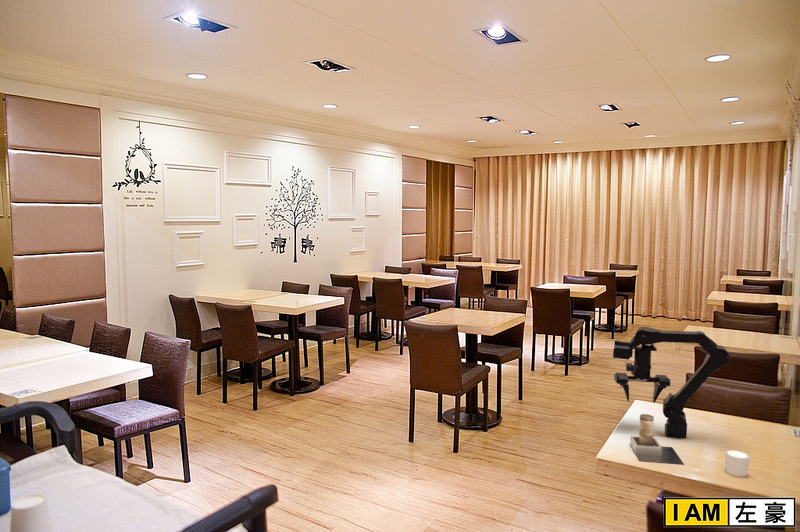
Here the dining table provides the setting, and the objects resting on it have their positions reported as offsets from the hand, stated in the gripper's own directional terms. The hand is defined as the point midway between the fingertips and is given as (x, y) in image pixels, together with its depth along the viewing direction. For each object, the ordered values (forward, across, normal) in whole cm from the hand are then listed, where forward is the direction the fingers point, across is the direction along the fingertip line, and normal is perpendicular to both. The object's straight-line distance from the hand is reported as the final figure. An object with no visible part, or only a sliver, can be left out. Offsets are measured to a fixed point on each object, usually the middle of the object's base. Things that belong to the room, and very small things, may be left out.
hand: (640, 401), depth 210 cm
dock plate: (+12, 0, +22) cm, 25 cm away
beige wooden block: (+11, +2, +19) cm, 22 cm away
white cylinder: (+12, -22, +31) cm, 40 cm away
